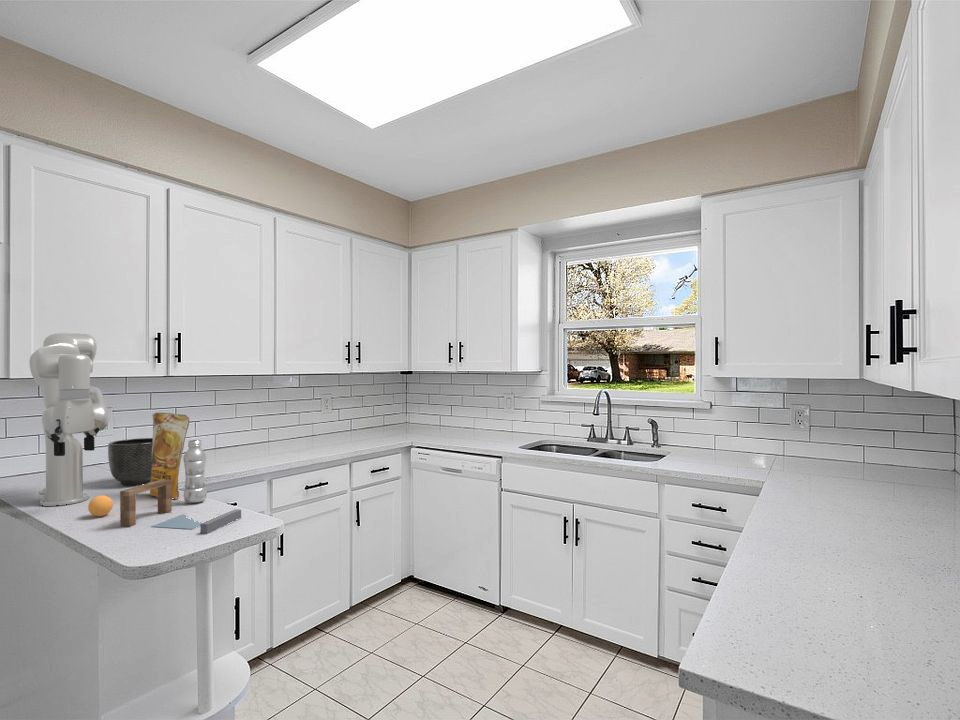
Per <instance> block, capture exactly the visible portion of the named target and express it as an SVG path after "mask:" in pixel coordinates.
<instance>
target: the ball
mask: <svg viewBox="0 0 960 720" xmlns="http://www.w3.org/2000/svg"><path fill="white" fill-rule="evenodd" d="M113 507H114V501H113V499H112V498H111V497H110V496H107V495H104V494H103V495H101V494H100V495H98V496H95V497H94V498H92V499H91V500H90V501H89V503H88V505H87V509H88V512H89V513H90V515H92V516H94V517H103V516H106V515H108V514H109V513H111V511H112V510H113Z"/></svg>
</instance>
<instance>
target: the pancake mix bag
mask: <svg viewBox="0 0 960 720" xmlns="http://www.w3.org/2000/svg"><path fill="white" fill-rule="evenodd" d="M189 425H190V417H189V416H188V415H186V414H176V413H171V412H155V413H153V414H152V438H153V439H152V444H153V445H152V471H151V482H150V483H152V482H155V481H159V480H162V479H167V480H171V496H172V498H175V499H174V500H178V499H179V498H180V491H179V475H180V468H181V462H182V455H183V450H184V448H185V447H184V446H185V442H186V437H187V434H188V429H189ZM149 496H151V497H153V496H155V497H154V498H157V497H158V488H155V489H152V490H149ZM178 497H179V498H178ZM177 498H178V499H177Z"/></svg>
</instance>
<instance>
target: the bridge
mask: <svg viewBox="0 0 960 720" xmlns="http://www.w3.org/2000/svg"><path fill="white" fill-rule="evenodd" d="M155 488H158V498H157V514H165V513H167V514H169V513H172V512H171V511H172V510H173V509H172V506H173V505H172V500H173V499H172V496H171V480H167V479H162V480H159V481H155V482H152V483H151V482H150V483H148V484H144V485H139V486H133V487H131V488H128V489H123V490H120V491H119V497H120V498H119V502H120V503H119V506H120V507H119V509H120V510H119V511H120V512H119V514H120V517H119V518H120V520H119V521H120V524H119V525H120V527H122V528H123V527H124V528H131V527H134V526H136V523H137V521H136V519H137V515H136V514H137V513H136V511H137V509H136V507H137V505H136V504H137V503H136V495H138V494H141V493H144V492H149V491H150V490H152V489H155Z"/></svg>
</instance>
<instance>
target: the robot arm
mask: <svg viewBox="0 0 960 720" xmlns="http://www.w3.org/2000/svg"><path fill="white" fill-rule="evenodd" d="M42 343H43V344H42V345H43V346H41V347H40V348H38V349H36V350H35V351H34V352H33V353H32V354H31V355H30V358H29V369H30V373H31V377H32V378H33V380H34V382H35V383H36V384H37V386H38V387H39V388H40V389H41V391H42V397H43V398H42V399H43V402H44V406H45V410H43V412H42V415H41V421H42V422H41V424H42V428H43V432H44V440H45V442H44V443H45V487H44V488H43V489H42V490H39V492H38V495H39V496H40V495H41V496H42V495H43V499H41V500H39V505H40V506H42V505H43V506H42V507H56V505H59V506H65V505H66V504H67V505H72V504H77V503H81V502H84V501H86V500H88V499H89V498H90V495H89V494H88V493H84V467H83V463H84V460H83V458H84V456H83V454H84V452H83V451H88V452H89V451H90V452H91V451H95V438H96V437H97V434H98V433H99V432H101V431H103V430H105V429H106V428H107V426H108V424H109V421H110V420H109V418H110V417H109V412H108V409H107V408H108V407H107V404H106V402H105V399H104V396H103V392H102V391H101V389H100V388H99V387H96V386H93V385H91V373H93V369H94V363H93V362H94V360H95V358H96V354H97V349H98V348H97V347H98V346H97V342H96V339H95V337H93V336H92V335H91V334H87V333H66V332H65V333H64V332H62V333H59V332H58V333H52V334H49V335H48V336H46V337H45V338H44V340H43V342H42ZM82 433H83V435H84V436H85V437H84V438H83V445H82V443H81V442H80V441H79V439H77V438H76V437H75V436H74V435H76V434H82ZM83 449H84V450H83Z"/></svg>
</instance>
